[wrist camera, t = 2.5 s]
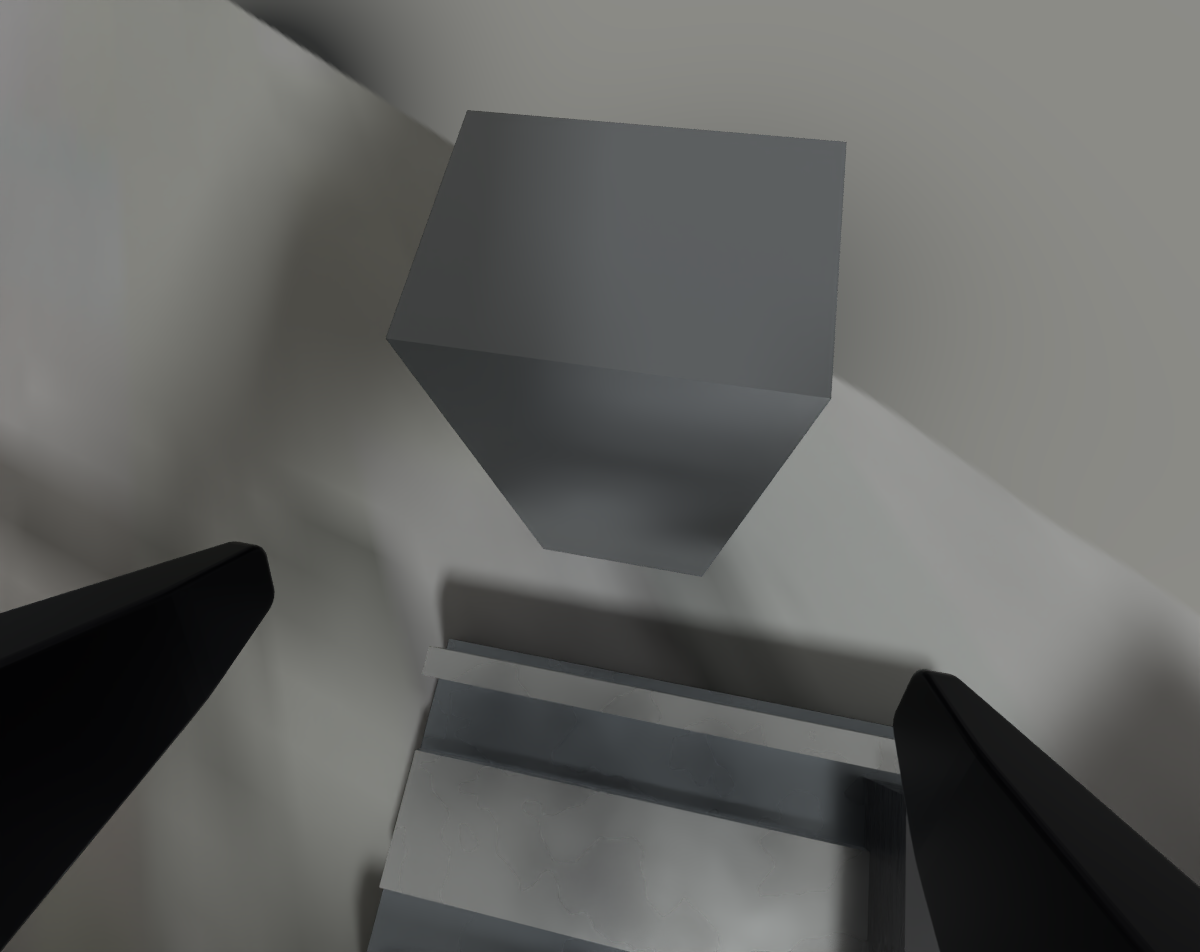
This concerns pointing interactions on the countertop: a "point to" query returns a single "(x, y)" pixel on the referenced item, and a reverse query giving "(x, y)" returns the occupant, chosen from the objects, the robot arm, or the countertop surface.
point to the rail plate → (642, 820)
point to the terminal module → (627, 323)
